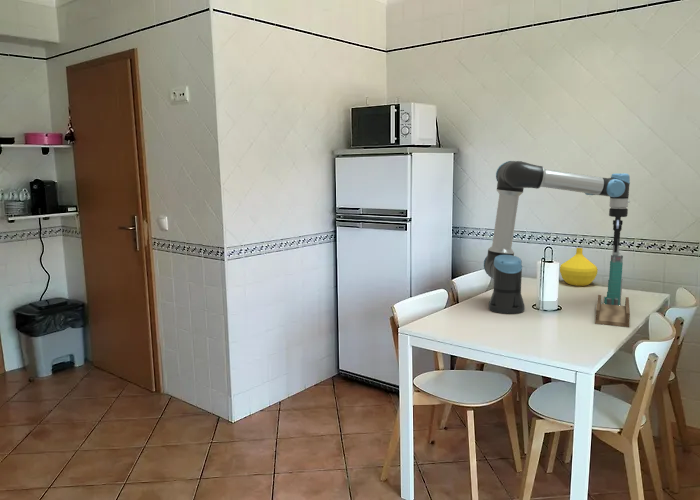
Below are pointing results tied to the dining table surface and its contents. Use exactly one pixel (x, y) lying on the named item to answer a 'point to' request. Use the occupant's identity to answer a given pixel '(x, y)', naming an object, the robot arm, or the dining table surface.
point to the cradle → (612, 314)
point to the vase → (578, 270)
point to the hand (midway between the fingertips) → (615, 259)
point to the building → (615, 280)
